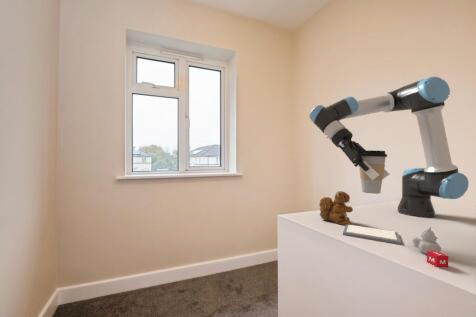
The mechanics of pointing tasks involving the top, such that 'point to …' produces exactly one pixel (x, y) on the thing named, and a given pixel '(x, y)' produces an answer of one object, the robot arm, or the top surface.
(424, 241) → the light grey lumpy piece
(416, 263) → the top surface
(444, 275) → the top surface
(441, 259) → the dice
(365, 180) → the coffee cup
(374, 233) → the picture frame
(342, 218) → the stuffed squirrel
